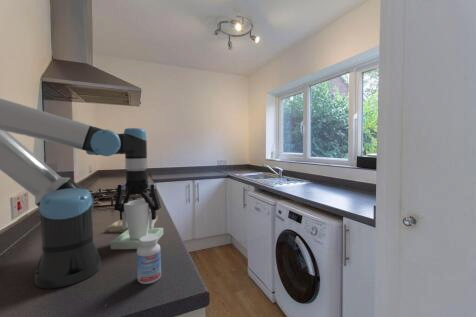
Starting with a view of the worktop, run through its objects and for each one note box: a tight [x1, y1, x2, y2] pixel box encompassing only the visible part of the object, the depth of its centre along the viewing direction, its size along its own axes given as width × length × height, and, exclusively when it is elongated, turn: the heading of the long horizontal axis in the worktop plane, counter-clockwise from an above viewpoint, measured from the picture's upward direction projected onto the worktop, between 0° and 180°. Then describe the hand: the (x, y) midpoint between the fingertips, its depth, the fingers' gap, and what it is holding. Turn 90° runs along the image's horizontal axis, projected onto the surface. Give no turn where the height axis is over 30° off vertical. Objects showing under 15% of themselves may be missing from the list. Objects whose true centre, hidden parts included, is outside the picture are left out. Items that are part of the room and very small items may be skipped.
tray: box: [109, 227, 164, 250], centre depth 87 cm, size 14×14×2 cm
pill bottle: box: [136, 235, 162, 285], centre depth 62 cm, size 6×6×11 cm
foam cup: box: [124, 199, 151, 239], centre depth 86 cm, size 10×9×13 cm
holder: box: [107, 214, 159, 233], centre depth 104 cm, size 16×16×2 cm
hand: (138, 228), depth 87 cm, fingers closed on foam cup, 9 cm apart
